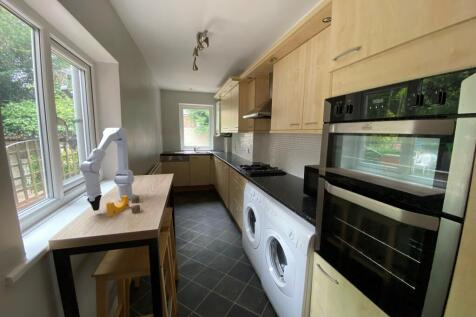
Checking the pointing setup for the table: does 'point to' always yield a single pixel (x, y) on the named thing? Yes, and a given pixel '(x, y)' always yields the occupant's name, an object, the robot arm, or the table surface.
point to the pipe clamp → (117, 206)
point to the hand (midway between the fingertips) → (96, 210)
